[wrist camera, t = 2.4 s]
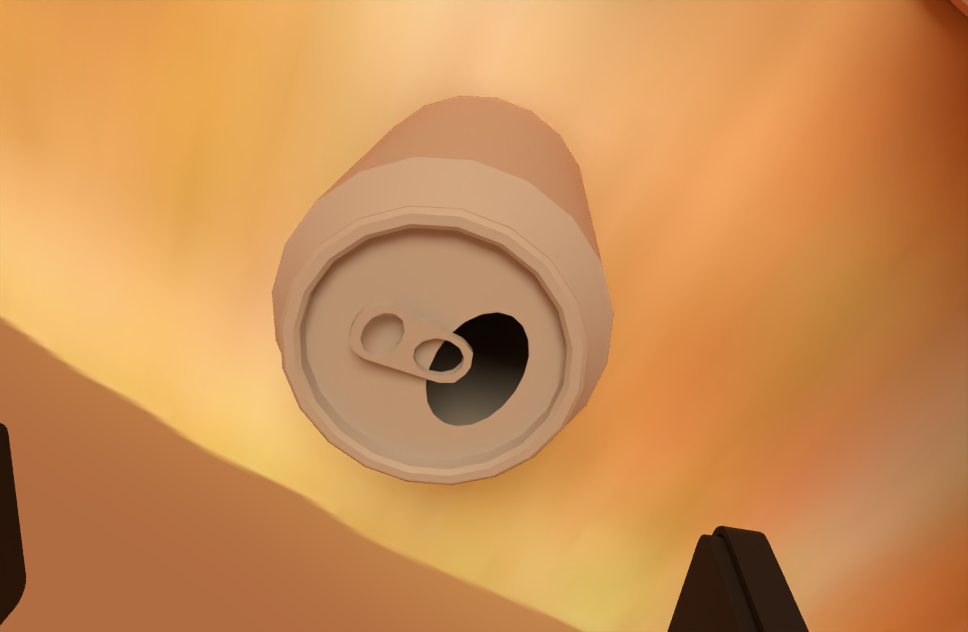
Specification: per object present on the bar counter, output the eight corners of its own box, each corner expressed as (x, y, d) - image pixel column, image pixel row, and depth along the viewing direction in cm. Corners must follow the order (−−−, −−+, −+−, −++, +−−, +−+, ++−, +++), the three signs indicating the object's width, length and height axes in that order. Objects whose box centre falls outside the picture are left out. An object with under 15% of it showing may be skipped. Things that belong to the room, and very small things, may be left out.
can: (514, 338, 28) (499, 567, 17) (334, 240, 26) (189, 416, 15) (628, 165, 25) (701, 304, 14) (431, 47, 24) (338, 95, 13)
